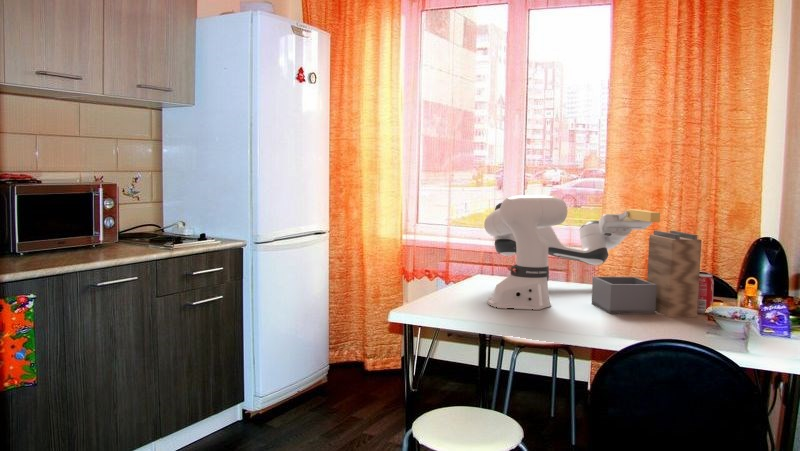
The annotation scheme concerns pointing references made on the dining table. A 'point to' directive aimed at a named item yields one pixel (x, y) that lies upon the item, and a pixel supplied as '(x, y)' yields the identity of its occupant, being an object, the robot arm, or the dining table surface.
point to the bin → (624, 295)
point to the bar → (644, 215)
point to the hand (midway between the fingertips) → (633, 212)
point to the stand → (675, 272)
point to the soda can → (705, 292)
